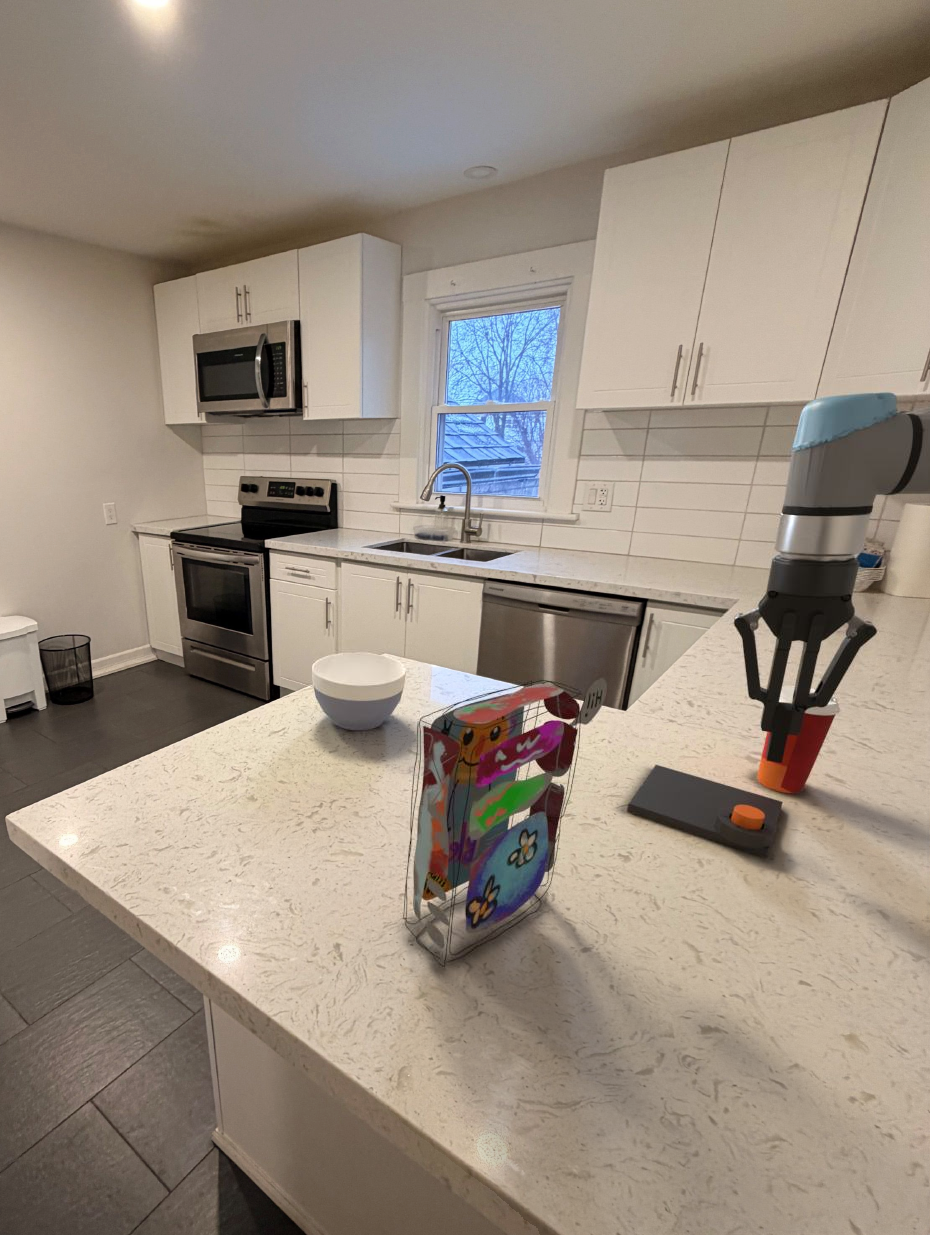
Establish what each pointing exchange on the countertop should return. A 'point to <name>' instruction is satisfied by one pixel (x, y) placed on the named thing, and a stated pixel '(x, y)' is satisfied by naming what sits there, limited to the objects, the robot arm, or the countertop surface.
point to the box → (492, 803)
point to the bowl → (358, 688)
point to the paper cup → (798, 747)
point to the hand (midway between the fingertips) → (773, 757)
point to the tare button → (748, 817)
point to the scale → (705, 808)
